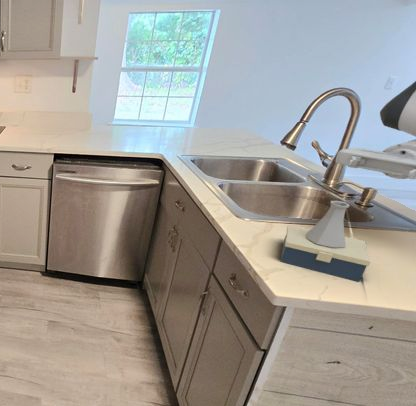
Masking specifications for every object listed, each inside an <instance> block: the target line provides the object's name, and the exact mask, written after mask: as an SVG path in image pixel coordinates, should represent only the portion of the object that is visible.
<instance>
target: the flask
mask: <svg viewBox="0 0 416 406" xmlns="http://www.w3.org/2000/svg"><path fill="white" fill-rule="evenodd" d="M329 203H330V206H329V209H328V211H327V212H326V213H325V214H324V216H323V217H322V218H321V219H320V220H318V222H317V223H315V225H314V226H313V227H312V228H310V229H309V231H308V232H307V233H306V235H307V239H309V240H311V241H313V242H314V243H316V244H319V245H324V246H328V247H333V248H335V247H346V244H345V237H346V236H345V223H344V221H345V214H346V212H347V209H349V208H350V204H349V203H347V202H345V201H341V200H330V202H329Z"/></svg>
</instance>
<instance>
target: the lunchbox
mask: <svg viewBox="0 0 416 406" xmlns="http://www.w3.org/2000/svg"><path fill="white" fill-rule="evenodd" d="M309 230H310V229H309V228H305V227H299V226H296V225H295V226H294V225H291V224H288V225H287V228H286V232H285V236H284V239H283V242H282V245H281V246H282V248H281V254H280V255H281V256H280V262H281V263H285V264H288V265H292V266H296V267H300V268H303V269H307V270H311V271H315V272H319V273H323V274H326V275H330V276H335V277H339V278H343V279H346V280H350V281H354V282H357V283H360V281H361V279H362V277H363V275H364V273H365V271H366V268H367V267H369V266H370V264H371V258H370V255H369V252H368V247H367V244H366V241H365V240H362V239H356V238H352V237H347V236H345V244H346V247H335V248H333V247H328V246H324V245H319V244H316V243H314V242H313V241H311V240H309V239H307V235H306V233H307V232H308V231H309Z"/></svg>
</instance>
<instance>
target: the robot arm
mask: <svg viewBox="0 0 416 406" xmlns="http://www.w3.org/2000/svg"><path fill="white" fill-rule="evenodd" d="M379 118H380V121H381V123H382V125H383V126H384V127H387V128H390V129H393V130H397V131H399V132H404V133H406V134H408V135H410V136H413V137H416V80H415V81H413V82H412V84H410V85H409V86H407V87H406V88H404V90H402V91H401V92H400V93H398V94H397V95H395V96H394V97H392V98H391V99H389V100H388V101H387V102H386V103H385V104H384V106H383V107H382V109H381V110H380V111H379ZM334 162H335V163H336V164H338V165H342V166H346V167H348V168H352V169H361V170H367V171H373V172H378V173H382V174H383V175H385V176H387V177H389V178H392V179H396V180H397V179H398V180H406V179H409V180H416V138H415V139H411V140H407V141H404V142H401V143H397V144H393V145H390V146H388V147H386V148H385V149H383V150H382V151H381V150H374V149H366V148H362V147H361V148H360V147H358V148H357V147H351V148H344V149H343V148H342V149H340V150H339V151H338V152H337V154H336V157H335V161H334Z"/></svg>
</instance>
